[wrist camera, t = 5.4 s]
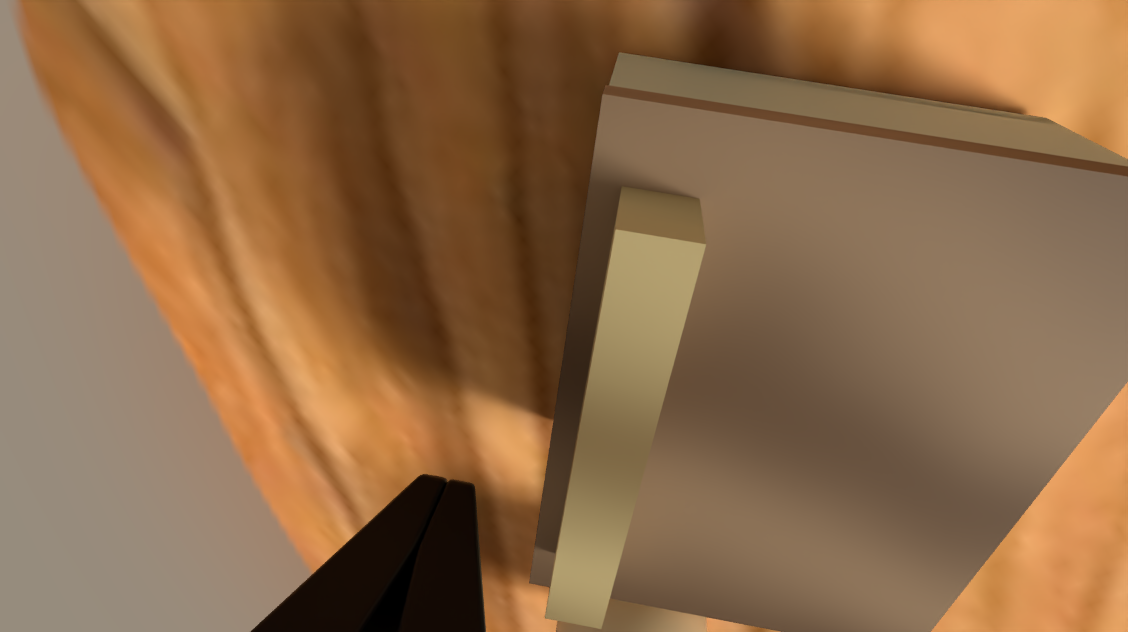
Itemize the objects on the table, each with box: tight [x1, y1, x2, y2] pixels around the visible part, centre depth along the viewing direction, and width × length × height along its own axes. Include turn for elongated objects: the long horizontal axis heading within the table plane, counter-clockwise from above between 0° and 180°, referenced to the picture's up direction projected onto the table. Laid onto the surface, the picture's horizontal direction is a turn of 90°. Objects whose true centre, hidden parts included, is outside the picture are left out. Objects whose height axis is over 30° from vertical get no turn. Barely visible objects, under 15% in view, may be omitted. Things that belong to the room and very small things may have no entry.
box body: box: [609, 52, 1128, 166], centre depth 14 cm, size 11×9×4 cm
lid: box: [529, 85, 1128, 632], centre depth 11 cm, size 12×9×2 cm
